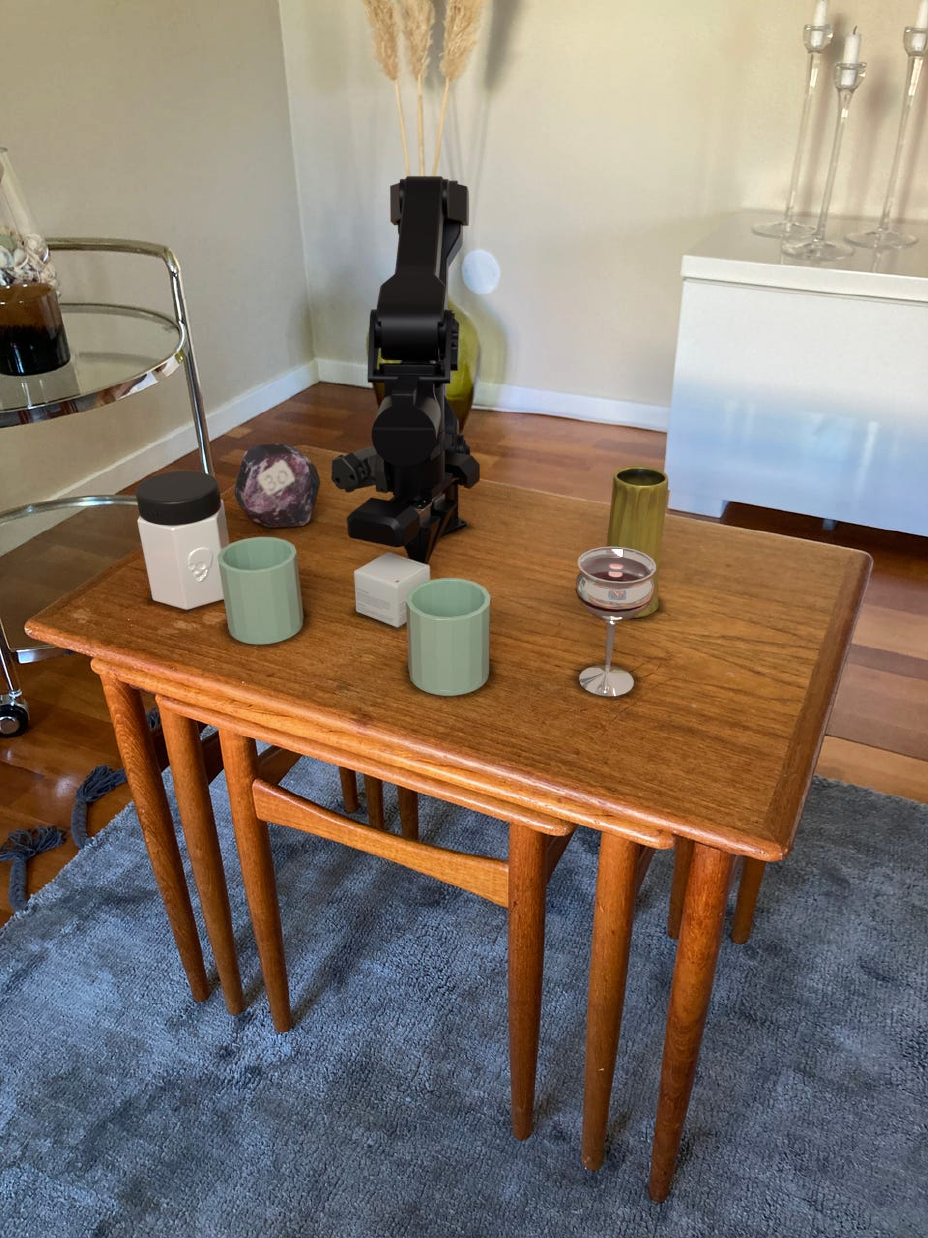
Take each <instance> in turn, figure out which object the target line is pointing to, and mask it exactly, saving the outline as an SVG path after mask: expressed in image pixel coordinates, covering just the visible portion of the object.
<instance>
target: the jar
mask: <svg viewBox="0 0 928 1238" xmlns="http://www.w3.org/2000/svg"><path fill="white" fill-rule="evenodd" d="M134 493H135V497H136V503H137V507H138V508H137V509H138V514H139V516H138V519H137V526H138V527H137V528H138V532H139V535H140V542H141V548H142V552H143V557H144V562H145V567H146V572H147V573H146V574H147V577H148V583H149V589H150V593H151V598H152V600H153V601H154V602H156V603H157V602H158V603H161V604H164V605H168V606H171V607H175V608H178V609H181V610H186V611H189V610H191V609H195V608H199V607H202V606H206V605H209V604H212V603H216V602H219V601H222V600H223V601H224V598H223V591H222V584H221V578H220V571H219V565H218V558H217V556H218V554H219V553H220V551H221V550H222V549H223V548H225V547H226V546H228V545H229V544H230V538H229V530H228V524H227V518H226V509H225V504H224V502H225V501H224V500H223V499H222V497H221V492H220V486H219V480H218V479H217V478H216V477H215V476H213V475H212V474H210V473H207V472H204V471H197V470H175V471H167V472H164V473H159V474H156V475H153V476H150V477H148V478H146V479H145V480H142V481H141V482H140V483H138V484H137V486H136V488H135V492H134Z"/></svg>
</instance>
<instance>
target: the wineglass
mask: <svg viewBox="0 0 928 1238" xmlns="http://www.w3.org/2000/svg"><path fill="white" fill-rule="evenodd" d="M577 566H578V568H579V571H578V572H577V576H576V580H575V583H574V584H575V589H574V590H575V591H574V592H575V593H576V596H577V598H578V600H579V603H580V605H581V606H582V607H583V608H584V609H585V610H586V611H588V612H589V613H590V614H591V615H592V616H594V617H595V618H597V619H599V620H602V621H604V623H606V640H605V662H604V663H605V664H600V665H593V666H589V667H587V668H585V669H584V670H582V671H581V673H580V674H579V678H578V681H579V683H580V685H581V687H582V688H584V689H585V690H586V691H587V692H589V693H591V694H595V695H597V696H602V697H618V696H621V695H625V694H626V693H628V692H630V691H631V690H632V688H634V685H635V684H634V683H635V681H634V678H633V676H632V674H630V673H629V672H628V671H626V670H624V669H623V668H621V667H618V666H614V665H611V662H612V655H613V648H614V641H615V634H616V626H617V624H619V623H620V622H625V621H626V622H627V621H629V620H632V619H634V618H633V617H634V616H636V615H638V614H639V613H641V612H642V611H644V610H645V609H646V607H647V606H648V605H649V603H650V601H651V600H652V597H653V594H654V579H653V577H652V575H653V574H654V573H655V571H656V564H655V562H654V561H653V559H652V558H650V557H649V556H648V555H646V554H644V553H642V552H639V551H637V550H634V549H629V548H625V547H607V546H600V547H596V548H592V549H589V550H587V551H585V552H583V553H582V554H581V555H580V556H579V557H578V560H577Z"/></svg>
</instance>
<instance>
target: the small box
mask: <svg viewBox="0 0 928 1238" xmlns="http://www.w3.org/2000/svg"><path fill="white" fill-rule="evenodd" d="M428 580H431V565H429V564H427V565H426V564H423V563H420V562H417V561H414V560H411V559H409V557H408V558H407V557H405V556H402V555H399V554H397V553H394V552H390V551H387V552H385V553H384V554H381V555H380V556H378V557H376V558H375V559H373V560H371V561H369V562H368V563H366V564H364V565H363V566H360V567H359V568H357V569H356V570H354V571H353V581H354V583H353V584H354V596H355V612H357V613H359V614H361V615H364V616H366V617H369V618H371V619H375V620H377V621H380V622H382V623H385V624H387V625H390V626H393V627H394V628H397V629H398V628H400V627H401V626H403V625H404V624H407V619H406V598H407V594H408V592H409V591H410V590H411V589H413V588H414V587H415V586H416V585H418V584H421V583H423V582H426V581H428Z"/></svg>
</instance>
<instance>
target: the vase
mask: <svg viewBox="0 0 928 1238" xmlns="http://www.w3.org/2000/svg"><path fill="white" fill-rule="evenodd" d="M612 477H613V478H612V490H611V501H610V510H609V520H608V521H609V523H608V529H607V536H606V537H607V538H606V547H625V548H629V549H634V550H637V551H639V552H642V553H644V554H646V555H648V556H649V557H650V558H652V559H653V561H654V562H655V564H656V571H655V573H654V574H653V575H652V577H653V579H654V594H653V597H652V600H651V601H650V603H649V605H648V606H647V607H646V609H645V610H644V611H642V612H641V613H639V614H638V615H636V616H634V617H633V618H632V619H638V618H644V617H647V616H649V615H651V614H653V613H655V612H656V611H657V610H658V607H659V581H660V579H659V578H660V563H661V562H660V561H661V550H662V542H663V541H662V540H663V532H664V524H665V515H666V508H667V499H668V491H669V476H668V474H667V473H666V472H665V471H663V470H661V469H658V468H655V467H652V466H645V465H633V466H625V467H623V468H622V467H621V468H619V469H617V470H615V472H614V473H613V475H612Z"/></svg>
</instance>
